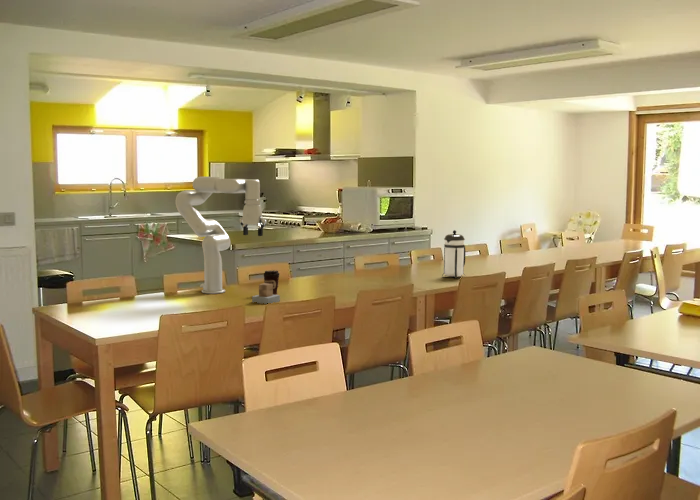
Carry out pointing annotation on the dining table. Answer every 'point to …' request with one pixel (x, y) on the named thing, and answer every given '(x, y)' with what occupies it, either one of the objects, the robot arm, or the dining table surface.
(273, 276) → the coffee cup
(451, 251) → the coffee press
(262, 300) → the plinth
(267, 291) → the walnut block
